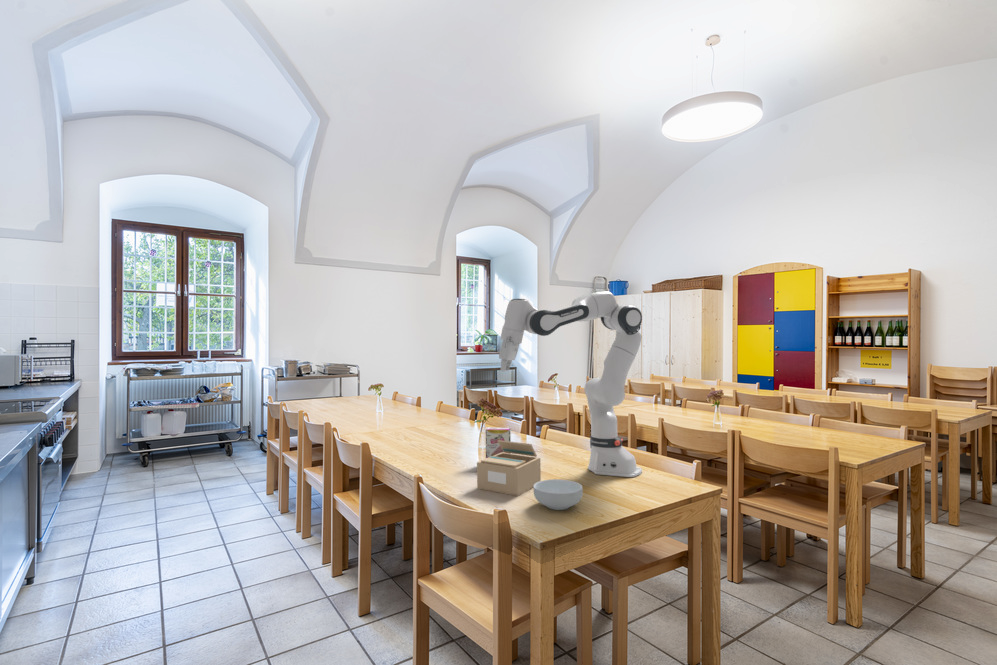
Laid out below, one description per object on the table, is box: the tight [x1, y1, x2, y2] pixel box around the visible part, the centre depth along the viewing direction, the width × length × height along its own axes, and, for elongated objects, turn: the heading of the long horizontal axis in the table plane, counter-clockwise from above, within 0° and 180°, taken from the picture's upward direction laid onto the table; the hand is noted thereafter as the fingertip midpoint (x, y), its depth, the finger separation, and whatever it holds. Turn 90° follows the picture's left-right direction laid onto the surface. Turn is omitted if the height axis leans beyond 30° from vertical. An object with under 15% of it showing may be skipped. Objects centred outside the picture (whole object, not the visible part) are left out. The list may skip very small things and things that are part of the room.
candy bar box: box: [485, 427, 512, 459], centre depth 226 cm, size 11×5×16 cm, turn 84°
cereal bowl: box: [532, 478, 584, 511], centre depth 172 cm, size 17×17×7 cm
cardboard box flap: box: [498, 440, 538, 457], centre depth 200 cm, size 15×7×1 cm
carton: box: [476, 452, 542, 497], centre depth 195 cm, size 18×18×10 cm
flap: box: [480, 456, 526, 467], centre depth 191 cm, size 15×8×1 cm, turn 58°
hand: (504, 370), depth 203 cm, fingers open, 8 cm apart
